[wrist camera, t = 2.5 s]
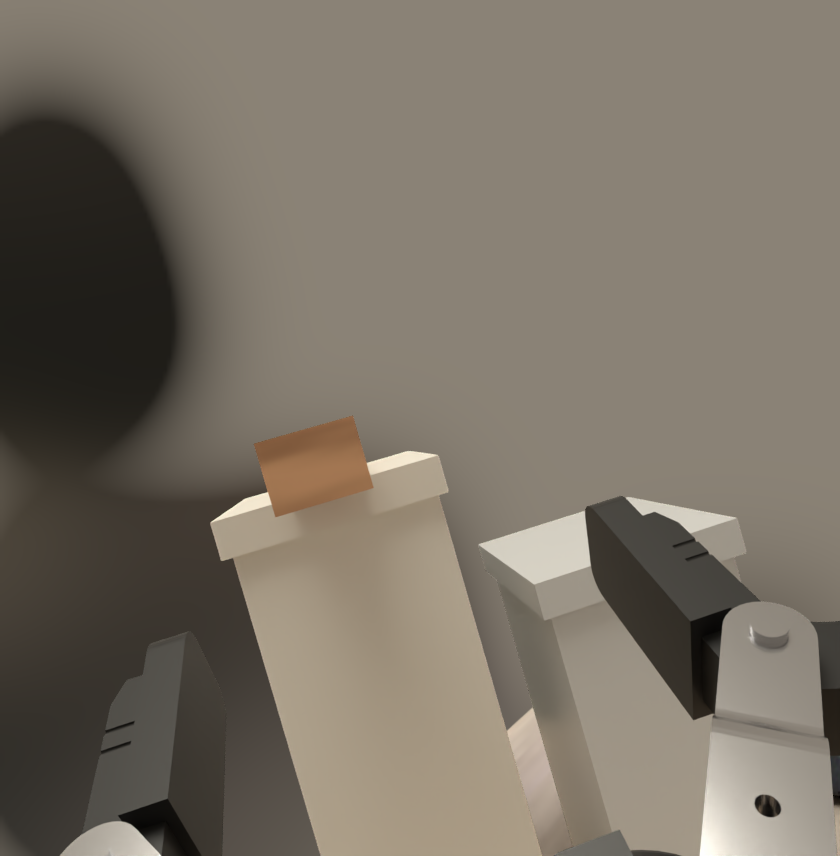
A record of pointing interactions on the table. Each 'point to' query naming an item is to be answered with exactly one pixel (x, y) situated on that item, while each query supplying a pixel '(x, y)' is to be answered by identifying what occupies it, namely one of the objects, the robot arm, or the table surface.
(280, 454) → the board
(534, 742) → the table surface
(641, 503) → the block
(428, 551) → the stand
